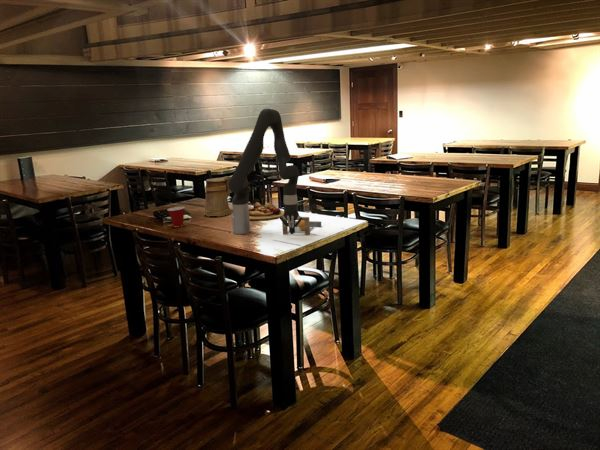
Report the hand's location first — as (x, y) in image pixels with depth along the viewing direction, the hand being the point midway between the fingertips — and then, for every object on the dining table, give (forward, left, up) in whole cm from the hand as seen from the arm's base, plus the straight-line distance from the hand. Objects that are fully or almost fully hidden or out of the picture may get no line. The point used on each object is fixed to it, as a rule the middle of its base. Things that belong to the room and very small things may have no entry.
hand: (292, 233), depth 273 cm
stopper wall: (0, +26, -2) cm, 26 cm away
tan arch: (0, +8, -2) cm, 8 cm away
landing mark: (0, +17, -2) cm, 17 cm away
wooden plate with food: (-37, +53, -3) cm, 65 cm away
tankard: (-69, +57, -3) cm, 90 cm away
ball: (+2, +17, +1) cm, 17 cm away
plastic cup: (-81, +20, -3) cm, 83 cm away
